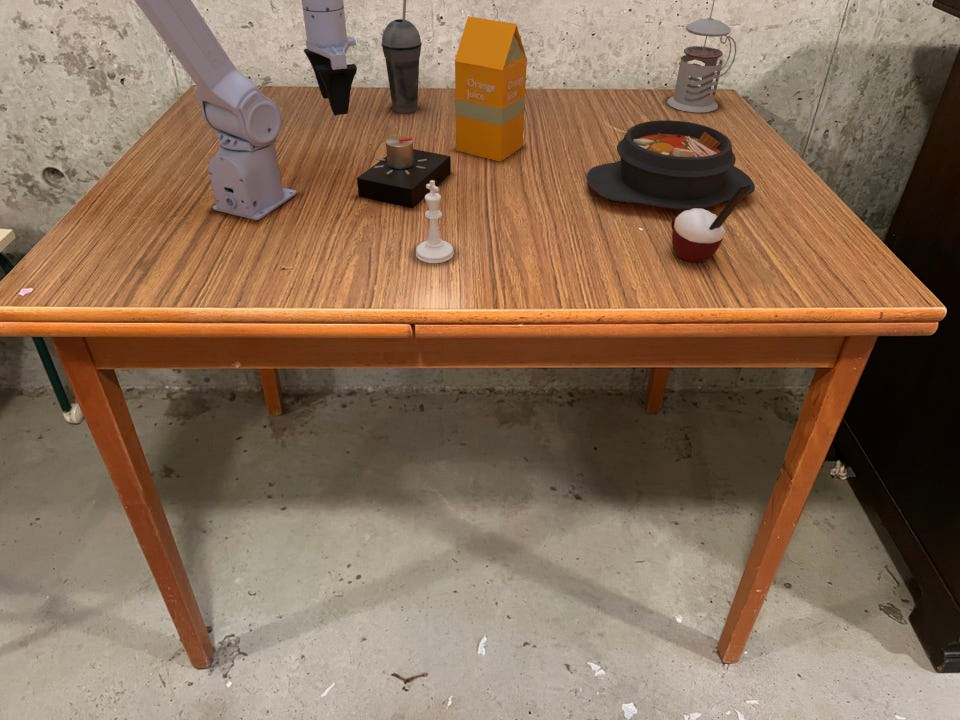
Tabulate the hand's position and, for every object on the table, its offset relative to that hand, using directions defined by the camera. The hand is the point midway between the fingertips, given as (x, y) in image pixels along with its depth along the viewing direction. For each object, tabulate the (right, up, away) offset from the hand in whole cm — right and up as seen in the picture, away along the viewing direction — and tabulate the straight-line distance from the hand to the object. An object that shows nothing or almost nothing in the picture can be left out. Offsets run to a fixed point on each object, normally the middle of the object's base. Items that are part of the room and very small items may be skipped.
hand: (335, 105), depth 104 cm
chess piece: (+16, -25, -15) cm, 34 cm away
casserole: (+51, -13, 0) cm, 52 cm away
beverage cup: (+8, +9, +26) cm, 29 cm away
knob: (+10, -9, -1) cm, 14 cm away
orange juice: (+24, -3, +12) cm, 27 cm away
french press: (+65, +12, +31) cm, 73 cm away
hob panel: (+11, -12, 0) cm, 16 cm away
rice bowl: (+50, -26, -15) cm, 58 cm away
